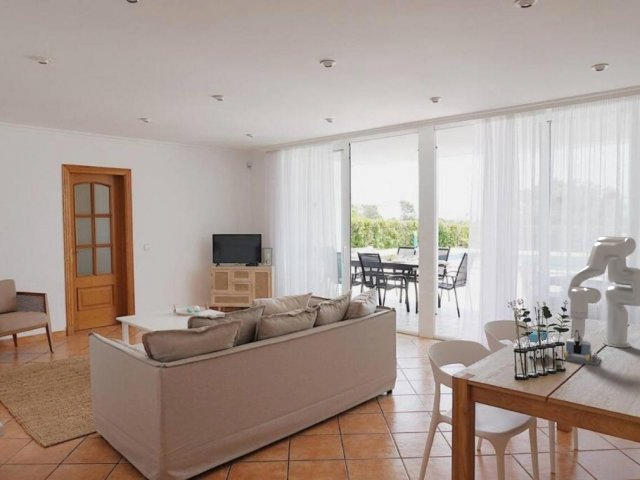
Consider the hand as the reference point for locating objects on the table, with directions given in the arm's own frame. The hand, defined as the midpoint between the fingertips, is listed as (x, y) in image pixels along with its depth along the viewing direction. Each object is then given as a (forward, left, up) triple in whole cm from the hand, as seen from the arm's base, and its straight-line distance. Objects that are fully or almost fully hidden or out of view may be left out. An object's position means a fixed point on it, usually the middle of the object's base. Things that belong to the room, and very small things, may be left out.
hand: (578, 351), depth 228 cm
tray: (0, 0, -4) cm, 4 cm away
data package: (+5, -17, -4) cm, 18 cm away
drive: (0, 0, -1) cm, 1 cm away
